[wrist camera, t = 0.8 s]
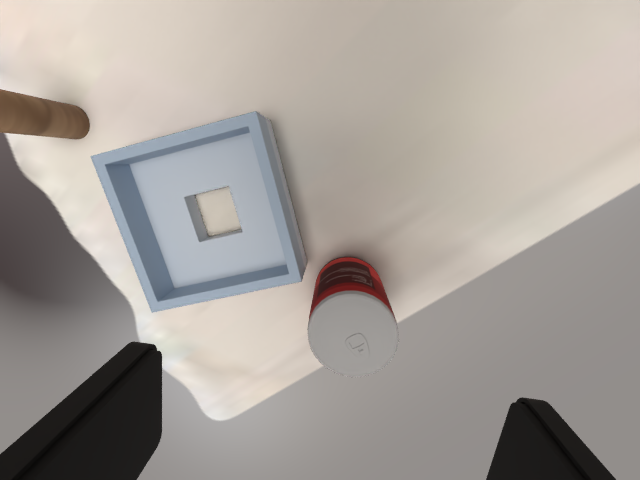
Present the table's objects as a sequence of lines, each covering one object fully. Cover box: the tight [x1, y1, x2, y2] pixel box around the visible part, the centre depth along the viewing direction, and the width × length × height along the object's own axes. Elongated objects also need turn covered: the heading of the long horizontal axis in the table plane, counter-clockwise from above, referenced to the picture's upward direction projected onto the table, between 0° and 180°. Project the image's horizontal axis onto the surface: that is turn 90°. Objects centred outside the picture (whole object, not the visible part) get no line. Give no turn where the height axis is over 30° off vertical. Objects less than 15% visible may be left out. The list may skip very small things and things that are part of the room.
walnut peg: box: [0, 89, 89, 139], centre depth 29 cm, size 4×4×10 cm
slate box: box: [91, 111, 307, 312], centre depth 33 cm, size 16×16×6 cm
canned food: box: [308, 257, 399, 377], centre depth 31 cm, size 8×8×11 cm
